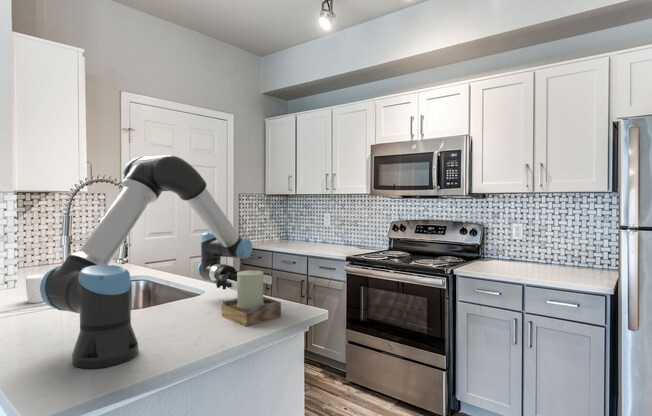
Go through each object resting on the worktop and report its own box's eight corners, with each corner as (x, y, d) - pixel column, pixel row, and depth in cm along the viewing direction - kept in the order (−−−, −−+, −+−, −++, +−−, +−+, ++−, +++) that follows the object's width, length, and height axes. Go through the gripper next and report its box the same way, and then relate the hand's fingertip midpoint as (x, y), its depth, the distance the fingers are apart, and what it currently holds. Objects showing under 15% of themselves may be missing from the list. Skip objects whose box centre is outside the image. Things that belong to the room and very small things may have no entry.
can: (266, 302, 141) (266, 269, 141) (259, 309, 132) (259, 273, 132) (241, 301, 142) (241, 268, 142) (233, 308, 133) (233, 273, 133)
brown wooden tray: (245, 326, 127) (245, 310, 127) (221, 316, 137) (221, 301, 137) (280, 316, 137) (280, 302, 137) (256, 308, 148) (256, 294, 148)
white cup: (28, 299, 158) (28, 275, 158) (52, 297, 162) (51, 273, 161) (23, 304, 151) (22, 279, 151) (48, 302, 155) (47, 277, 154)
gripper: (250, 279, 159) (283, 288, 144) (192, 289, 141) (222, 300, 126) (250, 261, 159) (283, 268, 144) (192, 268, 141) (222, 277, 126)
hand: (255, 283), depth 135 cm, fingers open, 13 cm apart
